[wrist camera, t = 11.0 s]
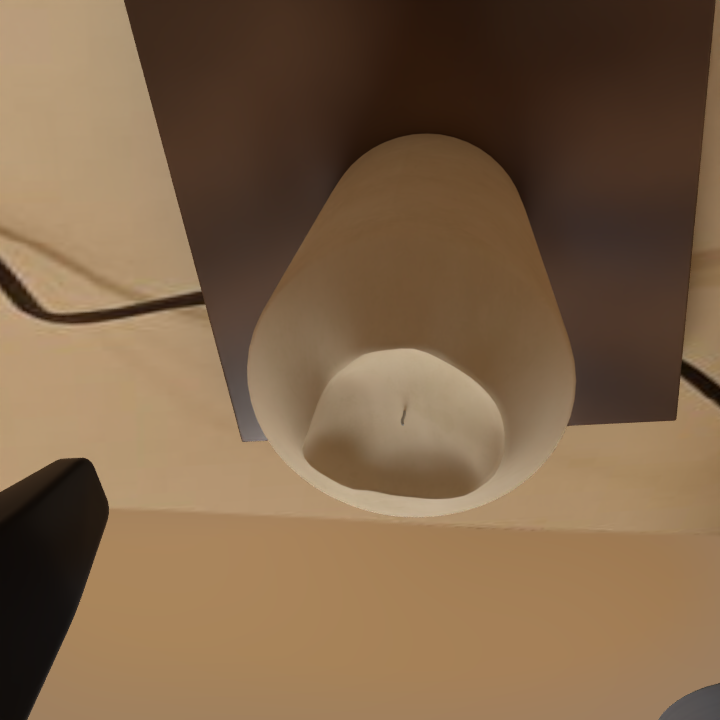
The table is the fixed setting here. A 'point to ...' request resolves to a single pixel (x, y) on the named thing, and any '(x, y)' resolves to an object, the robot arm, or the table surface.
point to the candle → (415, 338)
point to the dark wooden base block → (455, 119)
